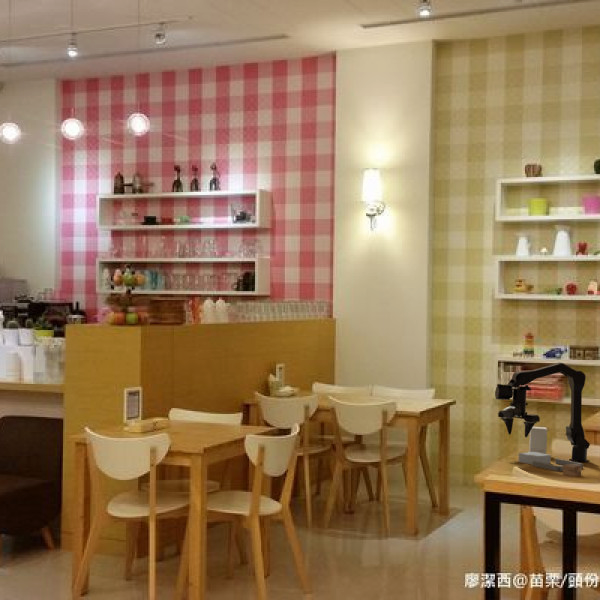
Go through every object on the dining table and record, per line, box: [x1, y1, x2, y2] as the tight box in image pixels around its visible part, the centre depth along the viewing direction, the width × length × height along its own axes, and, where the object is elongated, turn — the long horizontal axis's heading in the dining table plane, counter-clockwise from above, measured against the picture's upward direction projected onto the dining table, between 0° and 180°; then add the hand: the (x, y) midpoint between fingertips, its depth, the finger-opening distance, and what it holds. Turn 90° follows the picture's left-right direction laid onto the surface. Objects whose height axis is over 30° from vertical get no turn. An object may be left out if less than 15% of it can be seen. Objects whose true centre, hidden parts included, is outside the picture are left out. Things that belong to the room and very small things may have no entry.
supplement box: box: [528, 426, 548, 454], centre depth 410 cm, size 7×7×13 cm
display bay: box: [531, 458, 584, 473], centre depth 381 cm, size 16×13×2 cm
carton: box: [518, 451, 552, 465], centre depth 390 cm, size 10×9×4 cm
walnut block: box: [562, 464, 582, 477], centre depth 364 cm, size 5×5×4 cm
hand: (517, 435), depth 398 cm, fingers open, 9 cm apart
